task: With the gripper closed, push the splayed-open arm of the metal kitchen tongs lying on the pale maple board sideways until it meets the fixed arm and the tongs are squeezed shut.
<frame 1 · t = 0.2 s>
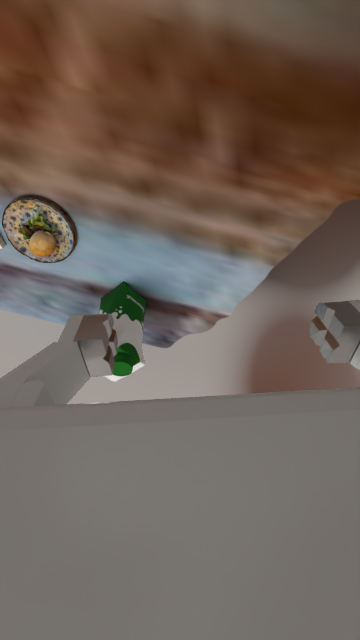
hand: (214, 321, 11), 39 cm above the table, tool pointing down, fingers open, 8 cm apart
milk carton: (123, 299, 59), on the table
burger: (43, 229, 47), on the table
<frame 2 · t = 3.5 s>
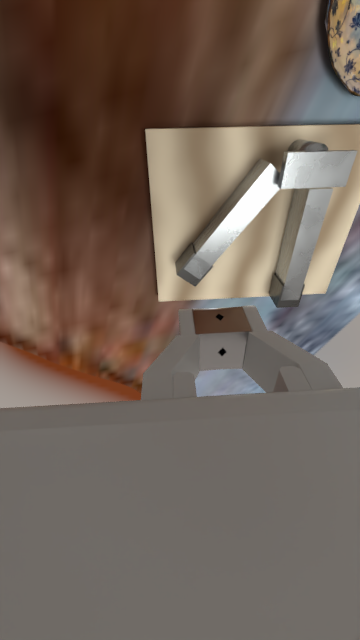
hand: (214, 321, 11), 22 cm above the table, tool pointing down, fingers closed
tongs fixed: (291, 150, 26), resting on board
tongs arm: (224, 227, 27), point 3 cm above the table, hinge at 38.0°
board: (250, 223, 30), on the table
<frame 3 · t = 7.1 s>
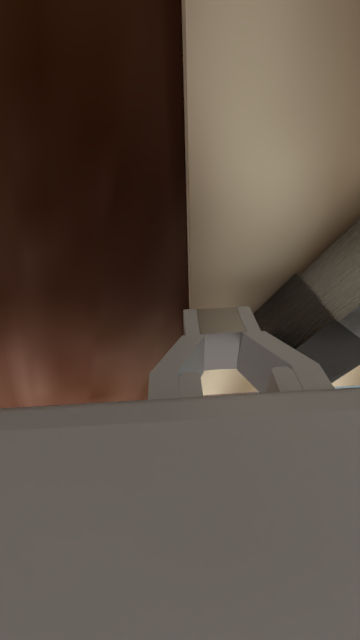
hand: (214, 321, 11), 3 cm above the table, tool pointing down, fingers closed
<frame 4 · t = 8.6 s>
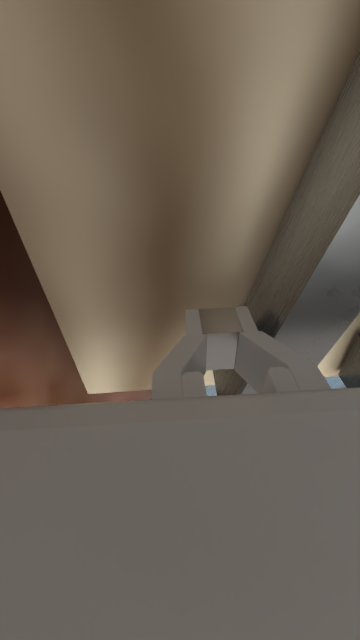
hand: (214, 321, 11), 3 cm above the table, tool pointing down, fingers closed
tongs arm: (309, 278, 9), point 3 cm above the table, hinge at 15.8°, touching gripper
board: (304, 211, 11), on the table
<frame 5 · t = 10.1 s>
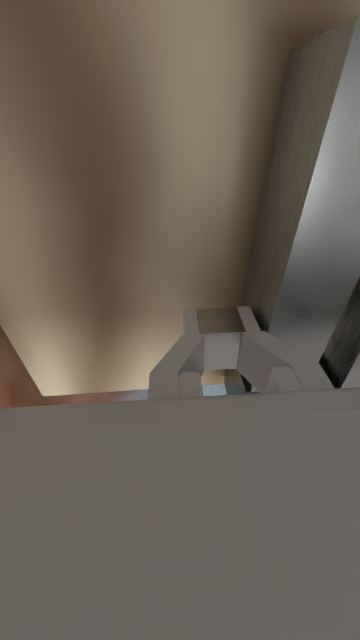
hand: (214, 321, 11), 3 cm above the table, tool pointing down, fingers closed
tongs arm: (287, 296, 10), point 3 cm above the table, hinge at 3.1°, touching gripper
board: (242, 216, 11), on the table
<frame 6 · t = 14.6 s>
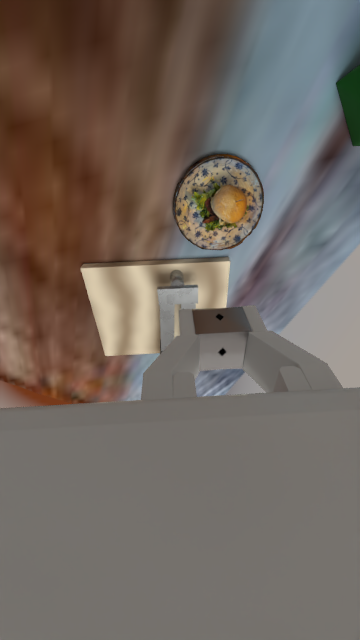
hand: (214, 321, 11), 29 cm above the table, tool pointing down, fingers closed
tongs fixed: (176, 271, 41), resting on board
tongs arm: (167, 329, 44), point 3 cm above the table, hinge at 3.0°
board: (160, 309, 46), on the table
burger: (217, 204, 36), on the table
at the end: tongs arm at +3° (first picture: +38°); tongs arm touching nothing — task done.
